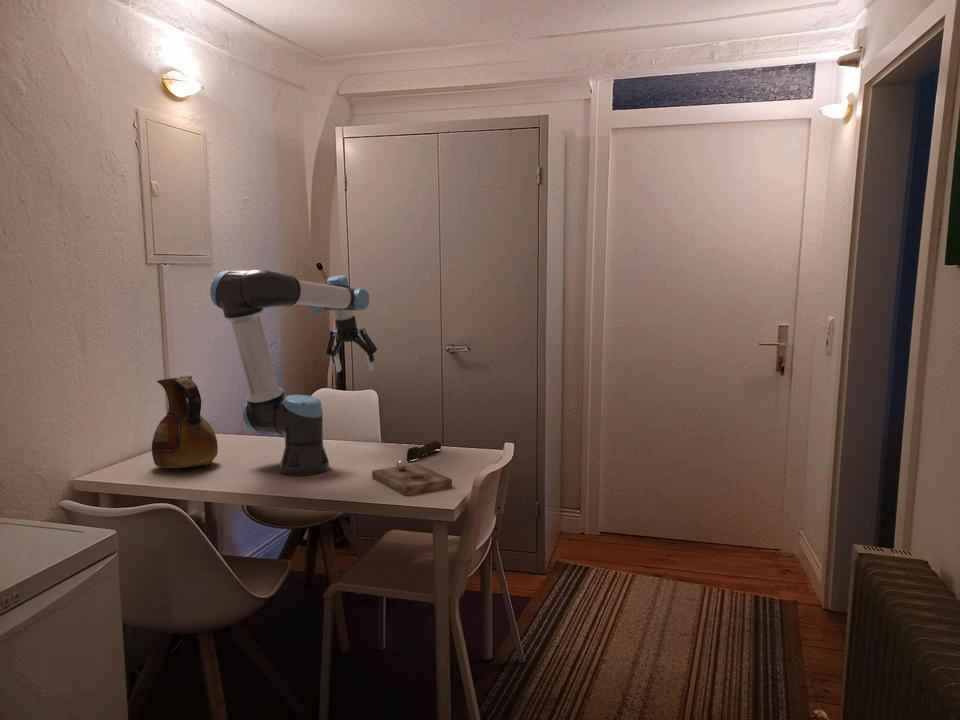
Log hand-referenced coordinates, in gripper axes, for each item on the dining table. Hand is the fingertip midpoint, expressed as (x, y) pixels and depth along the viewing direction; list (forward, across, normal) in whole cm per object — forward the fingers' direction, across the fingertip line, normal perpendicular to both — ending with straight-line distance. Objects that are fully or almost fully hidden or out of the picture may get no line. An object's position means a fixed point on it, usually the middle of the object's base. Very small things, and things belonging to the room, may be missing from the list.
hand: (355, 370), depth 265 cm
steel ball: (+11, -38, +54) cm, 67 cm away
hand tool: (+22, -34, +27) cm, 49 cm away
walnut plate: (+14, -42, +58) cm, 74 cm away
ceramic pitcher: (+10, +35, +59) cm, 69 cm away
